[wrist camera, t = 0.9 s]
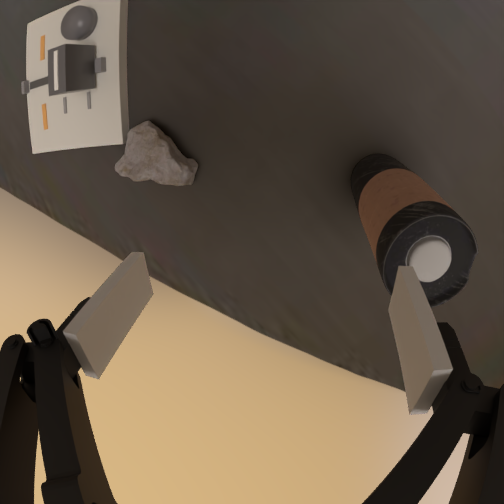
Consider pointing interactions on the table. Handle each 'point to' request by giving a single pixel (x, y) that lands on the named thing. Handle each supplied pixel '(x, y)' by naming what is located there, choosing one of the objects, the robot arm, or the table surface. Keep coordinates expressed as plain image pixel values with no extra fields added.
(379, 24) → the table surface
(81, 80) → the fader
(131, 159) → the stone
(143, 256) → the robot arm
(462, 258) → the travel mug
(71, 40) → the console
